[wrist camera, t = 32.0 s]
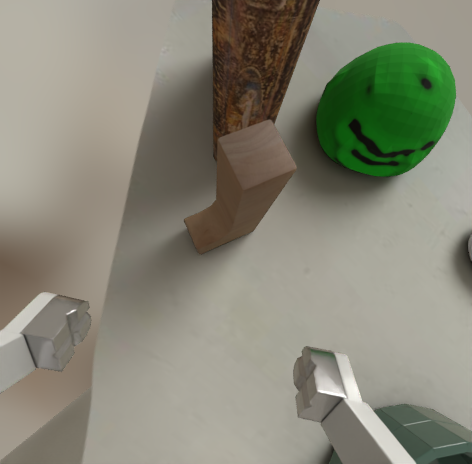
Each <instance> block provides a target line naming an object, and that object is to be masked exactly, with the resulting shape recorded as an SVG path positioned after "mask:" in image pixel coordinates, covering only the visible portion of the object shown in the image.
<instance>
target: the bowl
mask: <svg viewBox="0 0 472 464" xmlns="http://www.w3.org/2000/svg"><path fill="white" fill-rule="evenodd" d="M374 412H375V414H376V415H377V416H378V417H379V418H380V420H381V421H382V422H383V423H384V425H385V426H386V427H387V428H388V429H389V431H390V432H391V433H392V434H393V436H394V437H395V438H396V439H397V440H398V442H399V443H400V444H401V445H402V447H403V448H404V449H405V450H406V451H407V453H408V454H409V455H410V456H411V458H412V459H413V460H414V461H415V462H416V464H472V431H470V430H468V429H467V428H465V427H463V426H461V425H460V424H458V423H456V422H454V421H452V420H451V419H449V418H447V417H445V416H444V415H442V414H440V413H438V412H436V411H435V410H432V409H429V408H424V407H419V406H414V405H409V404H401V405H395V406H389V407H383V408H379V409H377V410H375V411H374ZM329 464H343V463H342V462H341V460H340V458H339V456H338V454H337V453H336V451H335V449H334V452H333V455H332V457H331V460H330V462H329Z"/></svg>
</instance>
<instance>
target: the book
mask: <svg viewBox="0 0 472 464" xmlns="http://www.w3.org/2000/svg"><path fill="white" fill-rule="evenodd" d="M319 1H320V0H212V42H213V156H214V158H215V160H216V161H217V146H218V139H219V138H220V137H222V136H225V135H228V134H230V133H233V132H236V131H239V130H241V129H244V128H247V127H249V126H252V125H255V124H258V123H260V122H263V121H266V120H271V121H272V122H273V124H274V123H275V120H276V118H277V115H278V112H279V110H280V107H281V104H282V101H283V99H284V96H285V93H286V91H287V88H288V85H289V82H290V80H291V77H292V74H293V72H294V69H295V66H296V63H297V61H298V58H299V55H300V52H301V50H302V47H303V44H304V42H305V39H306V36H307V33H308V31H309V28H310V25H311V23H312V20H313V17H314V14H315V12H316V9H317V6H318V4H319Z"/></svg>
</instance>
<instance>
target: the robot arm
mask: <svg viewBox="0 0 472 464" xmlns="http://www.w3.org/2000/svg"><path fill="white" fill-rule="evenodd" d="M88 309H89V303H88V301H84V300H79V299H74V298H70V297H66V296H61V295H57V294H52V293H47V292H42V293H41V294H39V295H37V296H36V297H35V298H34V299H33V300H32V301H31V302H30V303H29V304H28V305H27V306H26V307H25V308H24V309H23V310H22V311H21V312H20V313H19V314H18V315H17V316H16V317H15V318H14V319H13V320H12V321H11V322H10V323H9V324H7V326H6V327H5V328H3V329H2V330H0V394H1V393H2V392H4V391H5V390H7V389H8V388H9V387H11V386H12V385H14V384H15V383H17V382H18V381H19V380H21V379H22V378H24V377H25V376H27V375H28V374H30V373H31V372H33V371H34V370H36V368H43V369H48V370H55V371H61V372H62V371H63V369H64V368H65V366H66V365H67V363H68V362H69V361H70V359H71V358H72V356H73V355H74V346H76V345H77V344H79V343H81V342H82V341H83V340H84V338H85V337H86V335H87V333H88V331H89V328H90V325H91V316H90V315H89V314H88V313H87V310H88ZM293 379H294V385H295V386H296V388H297V389H298V391H299V392H298V394H297V395H296V405H297V414H298V418H303V419H307V420H312V421H316V422H321V426H322V427H323V429H324V431H325V433H326V435H327V436H328V438H329V440H330V442H331V444H332V445H333V447H334V449H335V451H336V453H337V454H338V456H339V458H340V460H341V462H342V463H343V464H416V462H415V461H414V460H413V459H412V458H411V456H410V455H409V454H408V453H407V451H406V450H405V449H404V448H403V447H402V445H401V444H400V443H399V442H398V440H397V439H396V438H395V437H394V436H393V434H392V433H391V432H390V431H389V429H388V428H387V427H386V426H385V425H384V423H383V422H382V421H381V420H380V418H379V417H378V416H377V415H376V414H375V412H374V411H373V410H372V409H371V407H370V406H369V405H368V404H367V403H365V402H363V401H362V398H361V395H360V392H359V389H358V386H357V383H356V380H355V377H354V374H353V371H352V368H351V365H350V362H349V359H348V357H347V355H346V354H343V353H337V352H332V351H329V350H324V349H319V348H313V347H308V346H306V347H304V348H303V350H302V356H301V357H299V358H297V360H296V362H295V365H294V370H293Z"/></svg>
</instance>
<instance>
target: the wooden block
mask: <svg viewBox="0 0 472 464" xmlns="http://www.w3.org/2000/svg"><path fill="white" fill-rule="evenodd" d="M296 170H297V168H296V164H295V163H294V161H293V159H292V157H291V155H290V153H289V151H288V150H287V148H286V146H285V144H284V142H283V140H282V139H281V137H280V135H279V133H278V131H277V129H276V127H275V126H274V124H273V122H272V121H271V120H266V121H263V122H260V123H258V124H255V125H252V126H249V127H247V128H244V129H241V130H239V131H236V132H233V133H230V134H228V135H225V136H222V137H220V138H219V139H218V146H217V188H216V200H215V202H214V203H213V204H212V205H211V206H210V207H208V208H206V209H205V210H203V211H201V212H199V213H197V214H195V215H192V216H190V217H187V218H185V219H184V222H185V224H186V227H187V229H188V231H189V234H190V236H191V238H192V240H193V243H194V245H195V247H196V249H197V252H198V253H199V254H203V253H205V252H207V251H210V250H212V249H214V248H216V247H219V246H221V245H223V244H225V243H228V242H230V241H232V240H234V239H237V238H239V237H241V236H243V235H245V234H248V233H250V232H252V231H254V229H255V228H256V227H257V225H258V224H259V222H260V221H261V219H262V218H263V216H264V215H265V214H266V212H267V211H268V209H269V208H270V206H271V205H272V204H273V202H274V201H275V199H276V198H277V196H278V195H279V194H280V192H281V191H282V189H283V188H284V187H285V185H286V184H287V182H288V181H289V179H290V178H291V177H292V175H293V174H294V172H295V171H296Z"/></svg>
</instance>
